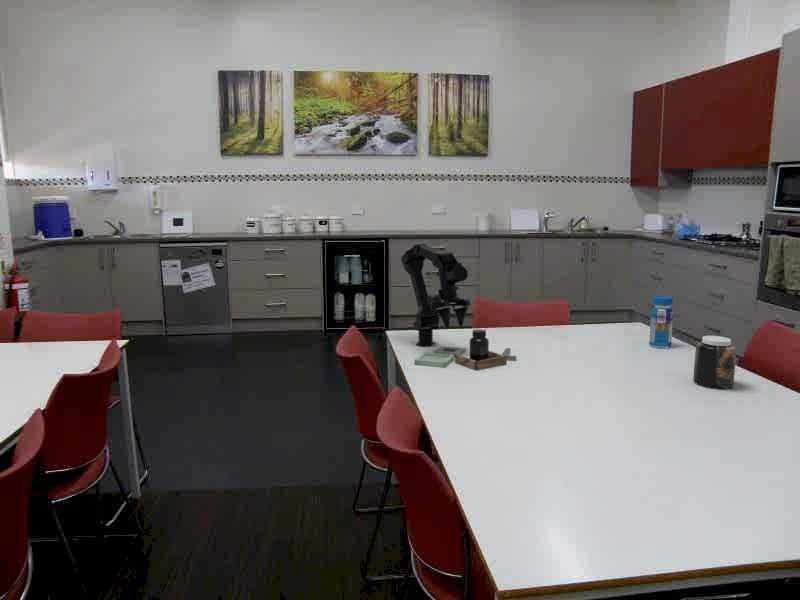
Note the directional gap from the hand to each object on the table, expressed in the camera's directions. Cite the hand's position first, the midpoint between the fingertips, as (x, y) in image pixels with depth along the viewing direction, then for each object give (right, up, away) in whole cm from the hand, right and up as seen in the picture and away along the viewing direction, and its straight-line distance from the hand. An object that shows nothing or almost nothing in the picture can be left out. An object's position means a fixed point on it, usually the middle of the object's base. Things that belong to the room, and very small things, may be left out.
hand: (454, 326), depth 241 cm
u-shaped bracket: (+8, -13, -7) cm, 17 cm away
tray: (-8, -13, -5) cm, 16 cm away
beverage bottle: (+83, -9, +16) cm, 85 cm away
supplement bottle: (+8, -13, -7) cm, 17 cm away
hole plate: (-1, -10, +7) cm, 13 cm away
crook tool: (+21, -11, +2) cm, 24 cm away
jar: (+81, -17, -33) cm, 89 cm away
